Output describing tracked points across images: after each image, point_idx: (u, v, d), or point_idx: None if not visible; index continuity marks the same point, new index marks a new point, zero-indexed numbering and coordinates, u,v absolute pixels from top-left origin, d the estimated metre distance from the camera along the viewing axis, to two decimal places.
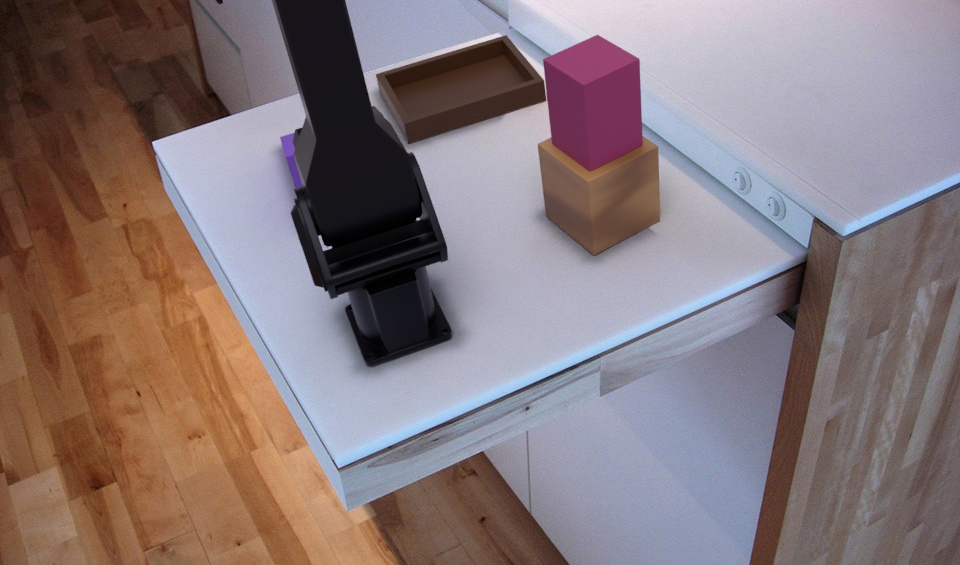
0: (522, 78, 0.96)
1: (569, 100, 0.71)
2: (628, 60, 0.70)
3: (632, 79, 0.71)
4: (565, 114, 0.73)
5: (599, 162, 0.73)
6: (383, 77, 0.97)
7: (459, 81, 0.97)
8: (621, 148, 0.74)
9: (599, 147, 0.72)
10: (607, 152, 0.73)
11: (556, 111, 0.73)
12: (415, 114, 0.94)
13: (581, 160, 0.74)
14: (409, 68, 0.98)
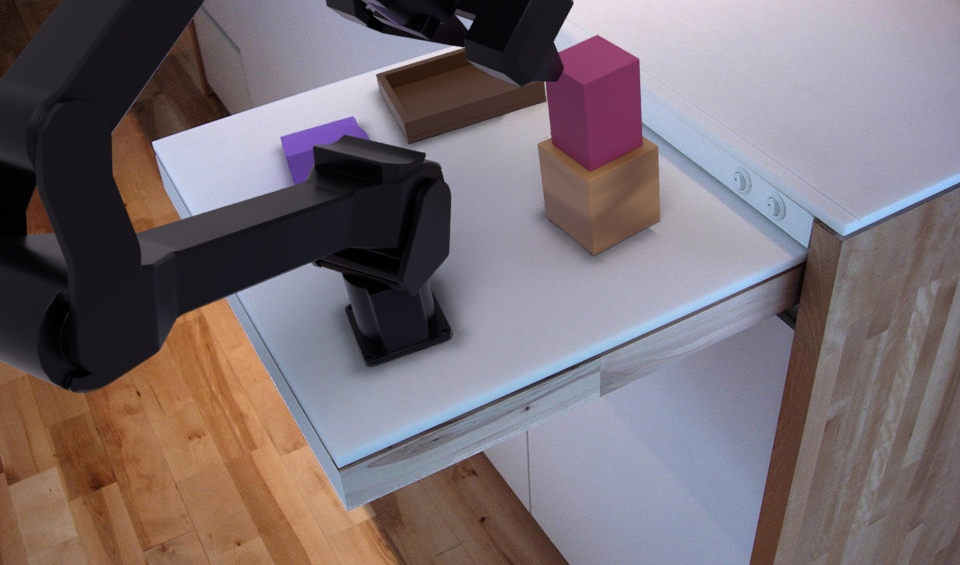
0: None
1: (569, 100, 0.71)
2: (628, 60, 0.70)
3: (632, 79, 0.71)
4: (565, 114, 0.73)
5: (599, 162, 0.73)
6: (383, 77, 0.97)
7: (459, 81, 0.97)
8: (621, 148, 0.74)
9: (599, 147, 0.72)
10: (607, 152, 0.73)
11: (556, 111, 0.73)
12: (415, 114, 0.94)
13: (581, 160, 0.74)
14: (409, 68, 0.98)
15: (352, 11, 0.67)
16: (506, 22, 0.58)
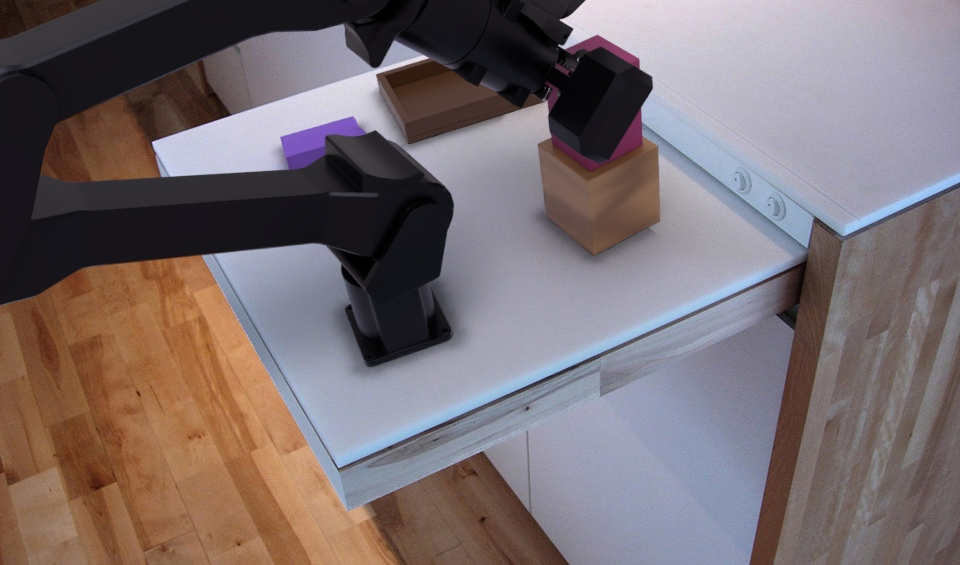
0: None
1: None
2: (628, 60, 0.70)
3: None
4: None
5: None
6: (383, 77, 0.97)
7: (459, 81, 0.97)
8: (621, 148, 0.74)
9: None
10: None
11: None
12: (415, 114, 0.94)
13: (581, 160, 0.74)
14: (409, 68, 0.98)
15: None
16: (585, 106, 0.62)
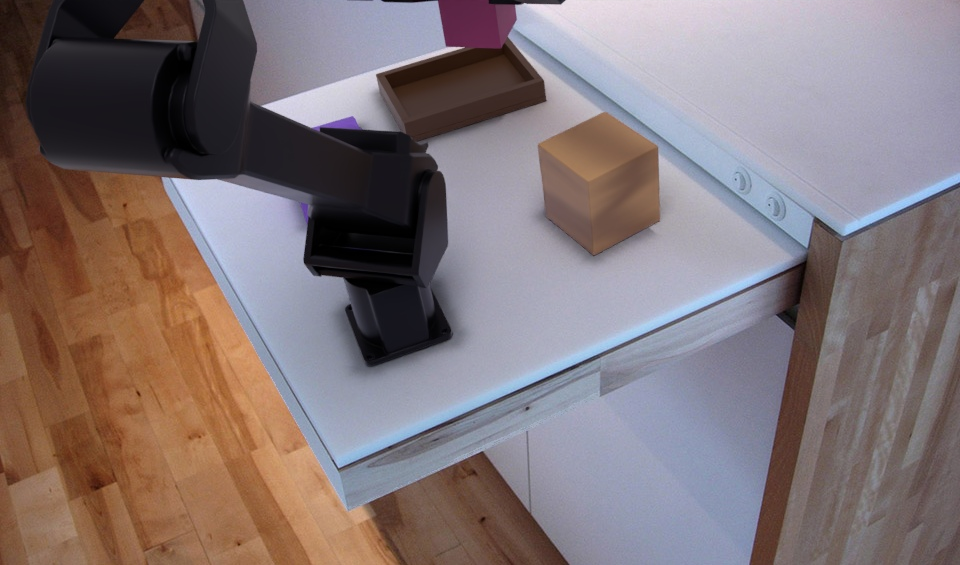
0: (522, 78, 0.96)
1: None
2: None
3: None
4: (464, 6, 0.81)
5: (503, 38, 0.83)
6: (383, 77, 0.97)
7: (459, 81, 0.97)
8: (509, 23, 0.84)
9: (501, 23, 0.82)
10: (505, 28, 0.83)
11: (452, 9, 0.82)
12: (415, 114, 0.94)
13: (488, 42, 0.83)
14: (409, 68, 0.98)
15: None
16: None
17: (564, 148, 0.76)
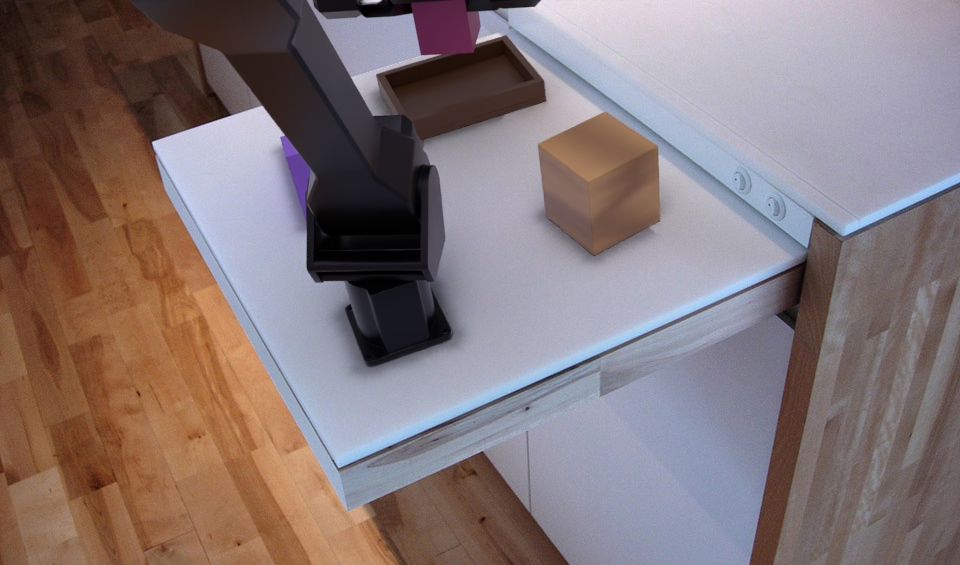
0: (522, 78, 0.96)
1: None
2: None
3: None
4: (438, 16, 0.88)
5: (474, 43, 0.91)
6: (383, 77, 0.97)
7: (459, 81, 0.97)
8: (477, 30, 0.92)
9: (472, 30, 0.90)
10: (474, 34, 0.91)
11: (427, 20, 0.89)
12: (415, 114, 0.94)
13: (461, 48, 0.90)
14: (409, 68, 0.98)
15: (354, 6, 0.83)
16: None
17: (564, 148, 0.76)
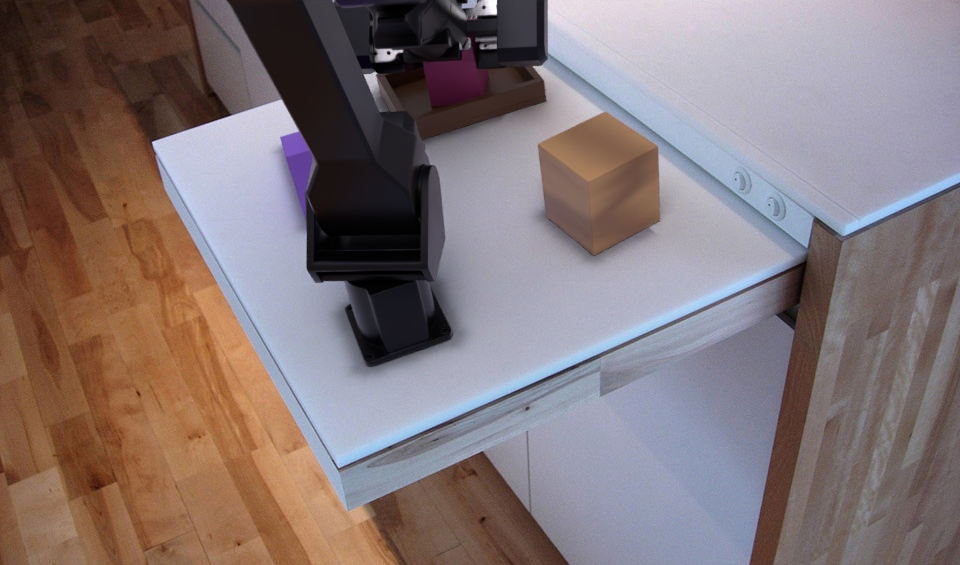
0: (522, 78, 0.96)
1: None
2: None
3: None
4: (448, 70, 0.92)
5: None
6: (383, 77, 0.97)
7: None
8: (485, 81, 0.95)
9: (480, 82, 0.93)
10: (482, 86, 0.94)
11: (437, 74, 0.92)
12: (415, 114, 0.94)
13: None
14: None
15: (368, 65, 0.87)
16: (526, 26, 0.84)
17: (564, 148, 0.76)
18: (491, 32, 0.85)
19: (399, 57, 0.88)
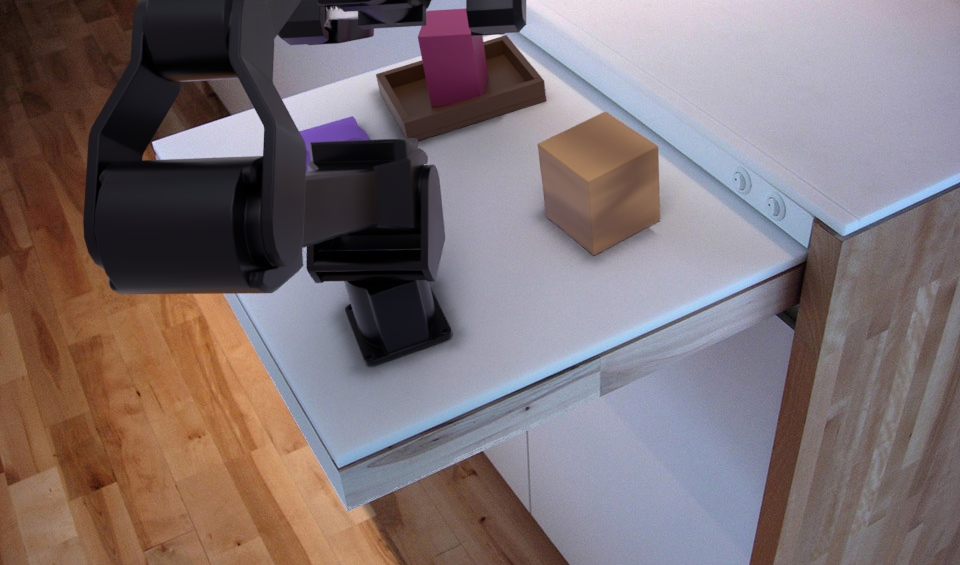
0: (522, 78, 0.96)
1: (454, 55, 0.91)
2: None
3: None
4: (448, 70, 0.92)
5: None
6: (383, 77, 0.97)
7: None
8: (485, 81, 0.95)
9: (480, 82, 0.93)
10: (482, 86, 0.94)
11: (437, 74, 0.92)
12: (415, 114, 0.94)
13: None
14: (409, 68, 0.98)
15: (319, 32, 0.75)
16: None
17: (564, 148, 0.76)
18: None
19: (330, 25, 0.77)
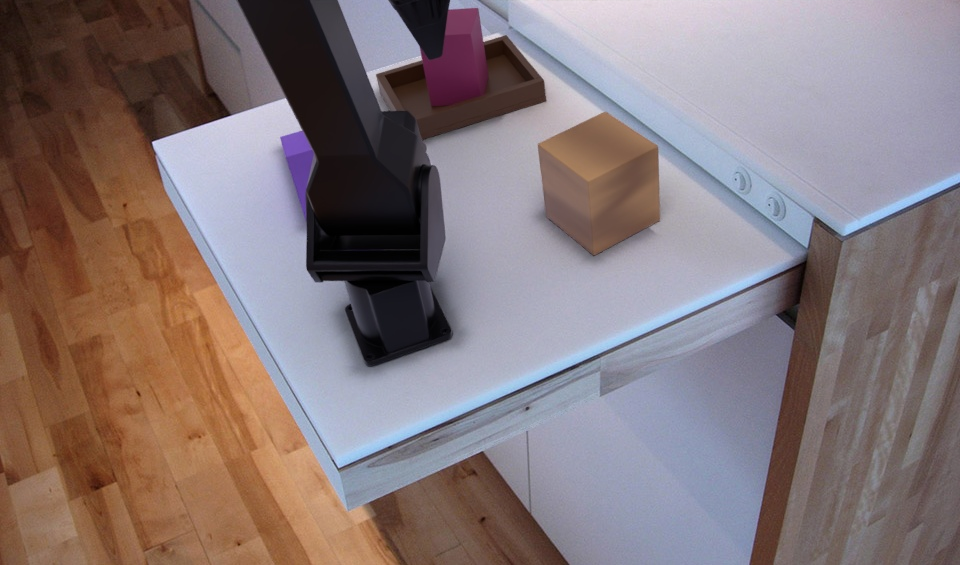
0: (522, 78, 0.96)
1: (454, 55, 0.91)
2: (473, 11, 0.92)
3: (479, 24, 0.93)
4: (448, 70, 0.92)
5: None
6: (383, 77, 0.97)
7: None
8: (485, 81, 0.95)
9: (480, 82, 0.93)
10: (482, 86, 0.94)
11: (437, 74, 0.92)
12: (415, 114, 0.94)
13: None
14: (409, 68, 0.98)
15: None
16: None
17: (564, 148, 0.76)
18: None
19: None
